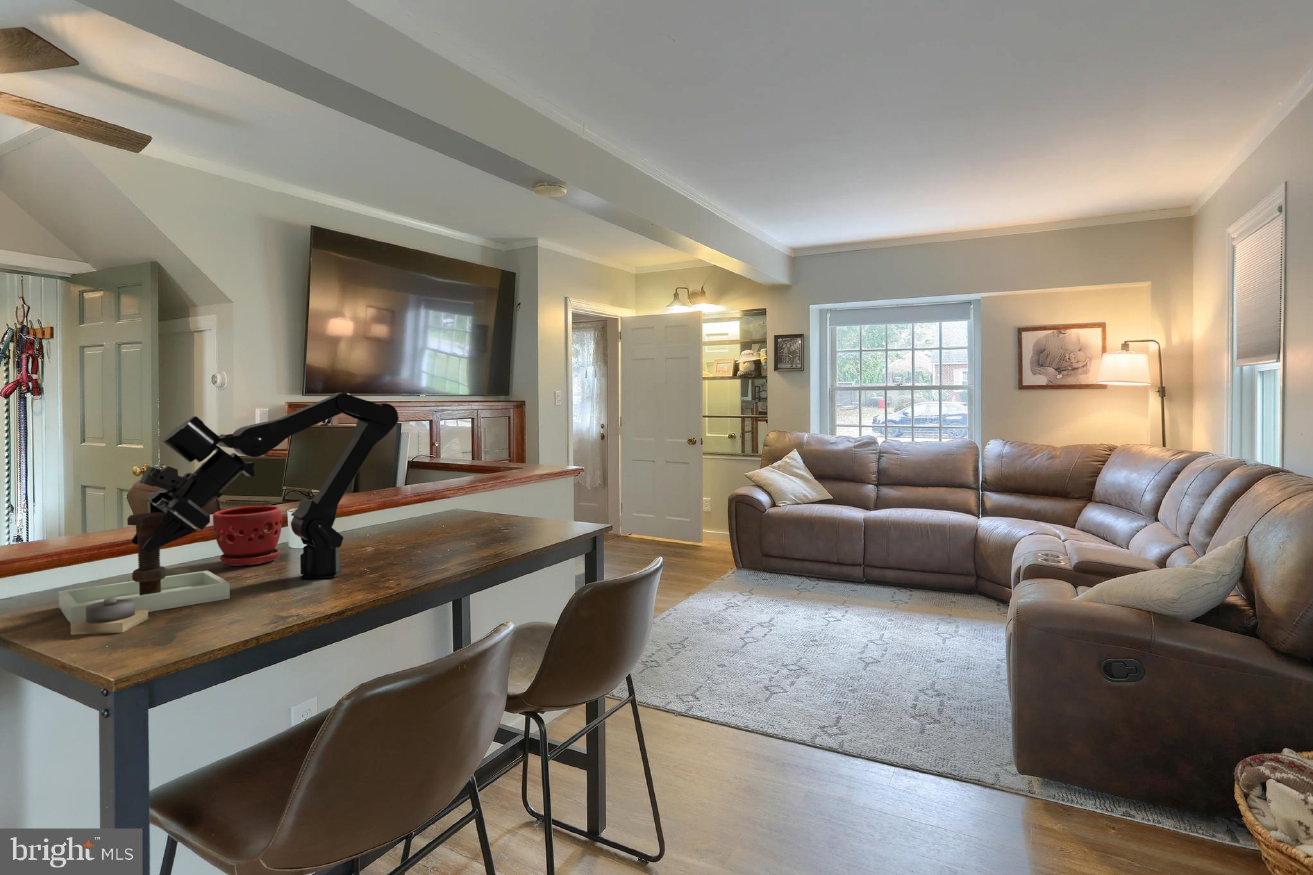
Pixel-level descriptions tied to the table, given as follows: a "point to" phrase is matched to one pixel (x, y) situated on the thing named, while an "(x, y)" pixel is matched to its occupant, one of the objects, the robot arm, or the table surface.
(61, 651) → the table surface
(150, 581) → the bolt
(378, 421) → the robot arm
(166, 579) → the tray
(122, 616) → the stand
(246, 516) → the plant pot
